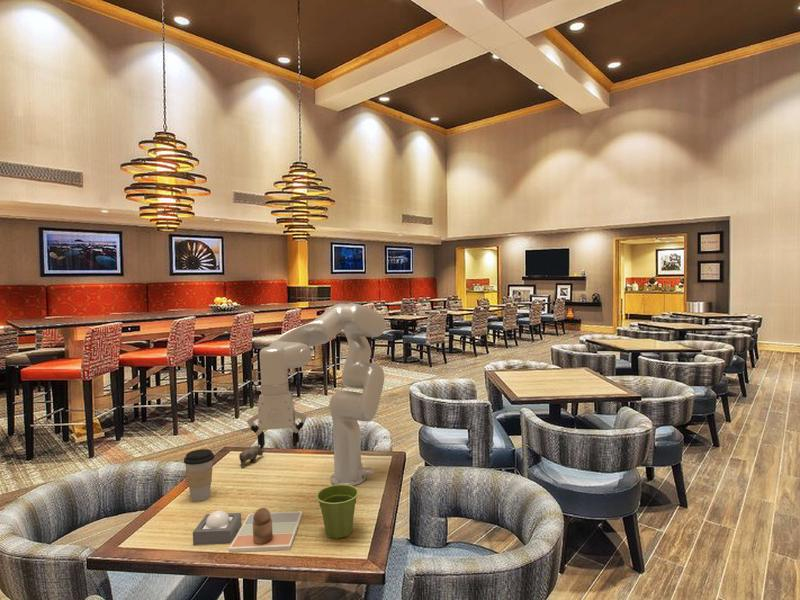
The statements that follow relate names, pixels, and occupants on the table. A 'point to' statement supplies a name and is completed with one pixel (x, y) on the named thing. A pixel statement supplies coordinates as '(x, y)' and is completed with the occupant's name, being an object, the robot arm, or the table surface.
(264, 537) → the walnut pawn
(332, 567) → the table surface
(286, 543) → the game board
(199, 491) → the coffee cup
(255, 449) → the rhino figurine
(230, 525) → the dome base
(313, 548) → the table surface
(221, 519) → the pop dome
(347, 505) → the plant pot
